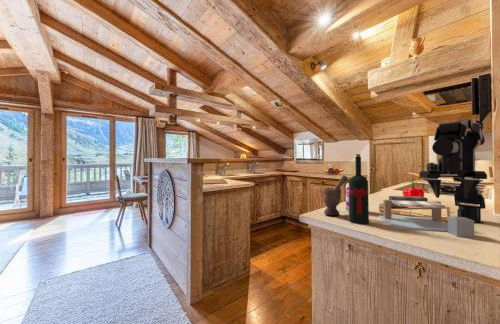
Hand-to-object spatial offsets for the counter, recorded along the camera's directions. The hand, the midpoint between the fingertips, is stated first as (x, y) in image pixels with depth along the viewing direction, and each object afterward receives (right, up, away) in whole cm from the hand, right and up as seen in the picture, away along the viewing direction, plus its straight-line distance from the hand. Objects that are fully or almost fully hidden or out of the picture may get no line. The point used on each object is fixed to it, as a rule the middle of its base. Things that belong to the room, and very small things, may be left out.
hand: (451, 198), depth 81 cm
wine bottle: (-27, -13, +15) cm, 34 cm away
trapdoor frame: (-4, -13, +12) cm, 18 cm away
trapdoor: (-3, -6, +15) cm, 16 cm away
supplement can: (-19, -13, +37) cm, 43 cm away
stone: (+1, -13, -2) cm, 13 cm away
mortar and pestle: (-31, -13, +30) cm, 46 cm away
